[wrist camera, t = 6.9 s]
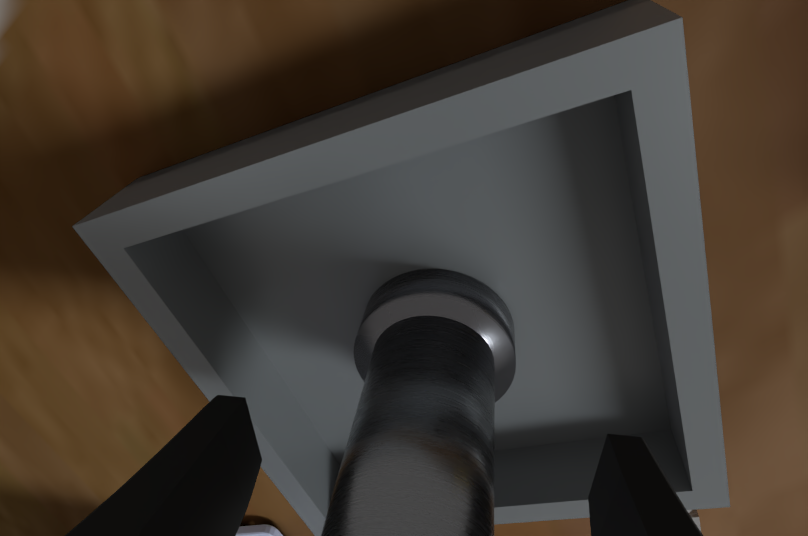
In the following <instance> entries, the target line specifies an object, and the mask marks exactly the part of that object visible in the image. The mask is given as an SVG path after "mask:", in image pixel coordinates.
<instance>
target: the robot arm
mask: <svg viewBox="0 0 808 536" xmlns="http://www.w3.org/2000/svg"><path fill="white" fill-rule="evenodd" d="M261 462H262V457H261V454H260V450H259V446H258V442H257V439H256V435H255V431H254V428H253V424H252V420H251V417H250V413H249V409H248V405H247V402H246V398H245V397H235V396H225V395H217V396H216V397H214V398H213V399H212V400H211V401H210V402H209V403H208V404H207V405H206V406H205V407H204V408H203V409H202V410H201V411H200V412H199V413H198V414H197V415H196V416H195V417H194V418H193V419H192V420H191V421H190V422H189V423H188V424H187V425H186V426H185V427H184V428H183V429H182V430H181V431H180V432H179V433H177V434H176V435H175V436H174V437H173V438H172V439H171V440H170V441H169V442H168V443H167V444H166V445H165V446H164V447H163V448H162V449H161V450H160V451H159V452H158V453H157V454H156V455H155V456H154V457H153V458H152V459H150V460H149V461H148V462H147V463H146V464H145V465H144V466H143V467H142V468H141V469H140V470H139V471H138V472H137V473H136V474H134V475H133V476H132V477H131V478H130V479H129V480H128V481H127V482H126V483H125V484H124V485H123V486H122V487H120V488H119V489H118V490H117V491H116V492H115V493H114V494H113V495H111V496H110V497H109V498H108V499H107V500H106V501H105V502H103V503H102V504H101V505H100V506H99V507H98V508H97V509H95V510H94V511H93V512H92V513H91V514H90V515H89V516H87V517H86V518H85V519H84V520H83V521H82V522H80V523H79V524H78V525H77V526H76V527H75V528H73V529H72V530H71V531H70V532H69V533H67V534H66V535H65V536H283V535H282V534H281V533H280V531H279V530H278V529H277V528H275V527H273V526H271V525H267V524H262V525H250V526H240V524H241V522H242V519H243V517H244V515H245V512H246V510H247V507H248V504H249V501H250V498H251V495H252V492H253V489H254V486H255V482H256V479H257V476H258V472H259V469H260V466H261ZM588 502H589V514H590V526H591V536H703V535H702V533H701V532H700V530H699V529H698V527H697V525H696V524H695V522H694V521H693V519H692V518H691V516H690V515H689V513H688V511H687V510H686V508H685V507H684V505H683V503H682V502H681V500H680V499H679V497H678V495H677V494H676V492H675V491H674V489H673V487H672V486H671V484H670V482H669V481H668V479H667V477H666V476H665V474H664V472H663V471H662V469H661V467H660V466H659V464H658V462H657V461H656V459H655V457H654V455H653V454H652V452H651V450H650V448H649V447H648V445H647V443H646V442H645V441H644V439H643V438H642V437H636V436H626V435H616V434H607V437H606V440H605V443H604V446H603V450H602V453H601V456H600V460H599V463H598V466H597V470H596V473H595V476H594V480H593V483H592V486H591V489H590V493H589V496H588Z"/></svg>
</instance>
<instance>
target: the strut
mask: <svg viewBox="0 0 808 536" xmlns="http://www.w3.org/2000/svg"><path fill="white" fill-rule="evenodd" d="M354 361H355V365H356V368H357V371H358V373H359V375H360V377H361V378H362V380H363V381H364V385H363V389H362V392H361V396H360V399H359V403H358V406H357V410H356V413H355V417H354V420H353V424H352V428H351V431H350V435H349V438H348V442H347V445H346V449H345V452H344V456H343V459H342V463H341V466H340V470H339V473H338V477H337V480H336V484H335V487H334V491H333V495H332V498H331V502H330V505H329V509H328V512H327V516H326V519H325V523H324V526H323V530H322V533H321V536H494V430H495V403H496V402H497V401H498V400H499V399H500V398H501V397H502V396H503V395H504V394H505V393H506V392H507V390H508V389H509V387H510V386H511V383H512V381H513V379H514V375H515V370H516V353H515V331H514V323H513V319H512V316H511V313H510V311H509V309H508V307H507V306H506V304H505V303H504V301H503V300H502V299H501V298H500V296H499V295H498V294H497V293H496V292H495V291H493V290H492V289H491V288H490V287H489V286H487V285H486V284H484V283H483V282H481V281H479V280H477V279H475V278H473V277H471V276H468V275H466V274H463V273H459V272H455V271H451V270H444V269H420V270H415V271H410V272H406V273H403V274H400V275H398V276H396V277H394V278H392V279H390V280H389V281H387V282H385V283H384V284H383V285H382V286H381V287H379V288H378V289H377V290H376V291H375V293H374V294H373V295H372V297H371V298H370V300H369V301H368V304H367V306H366V309H365V312H364V315H363V318H362V321H361V324H360V327H359V330H358V333H357V336H356V339H355V343H354Z"/></svg>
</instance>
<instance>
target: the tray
mask: <svg viewBox="0 0 808 536" xmlns="http://www.w3.org/2000/svg"><path fill="white" fill-rule="evenodd" d="M72 227H73V228H74V229H75V231H76V232H77V233H78V235H79V236H80V237H81V238H82V240H83V241H84V242H85V243H86V245H87V246H88V247H89V249H90V250H91V251H92V252H93V254H94V255H95V256H96V257H97V259H98V260H99V261H100V263H101V264H102V265H103V266H104V268H105V269H106V270H107V271H108V273H109V274H110V275H111V277H112V278H113V279H114V280H115V282H116V283H117V284H118V285H119V287H120V288H121V289H122V291H123V292H124V293H125V294H126V296H127V297H128V298H129V299H130V301H131V302H132V303H133V305H134V306H135V307H136V308H137V310H138V311H139V312H140V313H141V315H142V316H143V317H144V319H145V320H146V321H147V322H148V324H149V325H150V326H151V327H152V329H153V330H154V331H155V333H156V334H157V335H158V336H159V338H160V339H161V340H162V341H163V343H164V344H165V345H166V347H167V348H168V349H169V350H170V352H171V353H172V354H173V355H174V357H175V358H176V359H177V361H178V362H179V363H180V364H181V366H182V367H183V368H184V369H185V371H186V372H187V373H188V375H189V376H190V377H191V378H192V380H193V381H194V382H195V383H196V385H197V386H198V387H199V389H200V390H201V391H202V392H203V394H204V395H205V396H206V397H207V399H208V400H209V401H211V400H212V399H213V398H214V397H216V396H217V395H225V396H235V397H245V398H246V402H247V405H248V409H249V413H250V417H251V420H252V424H253V428H254V431H255V435H256V439H257V442H258V446H259V450H260V454H261V457H262V462H261V467H262V469H263V470H264V471H265V473H266V474H267V475H268V476H269V478H270V479H271V480H272V481H273V483H274V484H275V485H276V487H277V488H278V489H279V490H280V492H281V493H282V494H283V495H284V497H285V498H286V499H287V501H288V502H289V503H290V504H291V506H292V507H293V508H294V509H295V511H296V512H297V513H298V515H299V516H300V517H301V518H302V520H303V521H304V522H305V523H306V525H307V526H308V527H309V529H310V530H311V531H312V532H313V534H314V535H315V536H321V533H322V530H323V526H324V523H325V519H326V516H327V512H328V509H329V505H330V502H331V498H332V495H333V491H334V487H335V484H336V480H337V477H338V473H339V470H340V466H341V463H342V459H343V456H344V452H345V449H346V445H347V442H348V438H349V435H350V431H351V428H352V424H353V420H354V417H355V413H356V410H357V406H358V403H359V399H360V396H361V392H362V389H363V385H364V381H363V380H362V378H361V377H360V375H359V373H358V371H357V368H356V365H355V361H354V343H355V339H356V336H357V333H358V330H359V327H360V324H361V321H362V318H363V315H364V312H365V309H366V306H367V304H368V301H369V300H370V298H371V297H372V295H373V294H374V293H375V291H376V290H377V289H378V288H379V287H381V286H382V285H383V284H384V283H385V282H387V281H389V280H390V279H392V278H394V277H396V276H398V275H400V274H403V273H406V272H410V271H415V270H420V269H444V270H451V271H455V272H459V273H463V274H466V275H468V276H471V277H473V278H475V279H477V280H479V281H481V282H483V283H484V284H486V285H487V286H489V287H490V288H491V289H492V290H493V291H495V292H496V293H497V294H498V295H499V296H500V298H501V299H502V300H503V301H504V303H505V304H506V306H507V307H508V309H509V311H510V313H511V316H512V319H513V323H514V331H515V353H516V370H515V375H514V379H513V381H512V383H511V386H510V387H509V389H508V390H507V392H506V393H505V394H504V395H503V396H502V397H501V398H500V399H499V400H498V401H497V402H496V403H495V430H494V524H506V523H519V522H533V521H546V520H560V519H573V518H587V517H590V514H589V502H588V496H589V493H590V489H591V486H592V483H593V480H594V476H595V473H596V470H597V466H598V463H599V460H600V456H601V453H602V450H603V446H604V443H605V440H606V437H607V434H616V435H626V436H636V437H642V438H643V439H644V441H645V442H646V443H647V445H648V447H649V448H650V450H651V452H652V454H653V455H654V457H655V459H656V461H657V462H658V464H659V466H660V467H661V469H662V471H663V472H664V474H665V476H666V477H667V479H668V481H669V482H670V484H671V486H672V487H673V489H674V491H675V492H676V494H677V495H678V497H679V499H680V500H681V502H682V503H683V505H684V507H685V508H686V510H695V509H708V508H722V507H730V501H729V491H728V480H727V470H726V460H725V450H724V439H723V429H722V419H721V409H720V399H719V388H718V378H717V368H716V358H715V347H714V337H713V327H712V317H711V306H710V296H709V286H708V276H707V265H706V255H705V245H704V235H703V224H702V214H701V204H700V194H699V183H698V173H697V163H696V153H695V142H694V132H693V122H692V112H691V102H690V91H689V81H688V71H687V61H686V50H685V40H684V30H683V20H682V17H681V16H679V15H677V14H675V13H673V12H671V11H670V10H668V9H666V8H664V7H662V6H660V5H659V4H657V3H655V2H653V1H651V0H628V1H625V2H622V3H619V4H617V5H614V6H611V7H608V8H606V9H603V10H600V11H597V12H595V13H592V14H589V15H586V16H584V17H581V18H578V19H575V20H573V21H570V22H567V23H564V24H562V25H559V26H556V27H553V28H551V29H548V30H545V31H542V32H540V33H537V34H534V35H531V36H528V37H526V38H523V39H520V40H517V41H515V42H512V43H509V44H506V45H504V46H501V47H498V48H495V49H493V50H490V51H487V52H484V53H482V54H479V55H476V56H473V57H471V58H468V59H465V60H462V61H460V62H457V63H454V64H451V65H449V66H446V67H443V68H440V69H437V70H435V71H432V72H429V73H426V74H424V75H421V76H418V77H415V78H413V79H410V80H407V81H404V82H402V83H399V84H396V85H393V86H391V87H388V88H385V89H382V90H380V91H377V92H374V93H371V94H369V95H366V96H363V97H360V98H358V99H355V100H352V101H349V102H346V103H344V104H341V105H338V106H335V107H333V108H330V109H327V110H324V111H322V112H319V113H316V114H313V115H311V116H308V117H305V118H302V119H300V120H297V121H294V122H291V123H289V124H286V125H283V126H280V127H278V128H275V129H272V130H269V131H267V132H264V133H261V134H258V135H255V136H253V137H250V138H247V139H244V140H242V141H239V142H236V143H233V144H231V145H228V146H225V147H222V148H220V149H217V150H214V151H211V152H209V153H206V154H203V155H200V156H198V157H195V158H192V159H189V160H187V161H184V162H181V163H178V164H176V165H173V166H170V167H167V168H164V169H162V170H159V171H156V172H153V173H151V174H148V175H145V176H142V177H140V178H137V179H136V180H134V181H133V182H132V183H130V184H129V185H128V186H126V187H125V188H124V189H122V190H121V191H120V192H118V193H117V194H115V195H114V196H113V197H111V198H110V199H109V200H107V201H106V202H105V203H103V204H102V205H101V206H99V207H98V208H96V209H95V210H94V211H92V212H91V213H90V214H88V215H87V216H86V217H84V218H83V219H82V220H80V221H79V222H77V223H76V224H75V225H73V226H72Z"/></svg>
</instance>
